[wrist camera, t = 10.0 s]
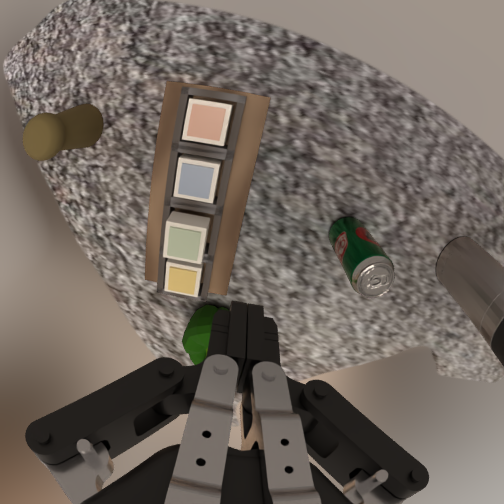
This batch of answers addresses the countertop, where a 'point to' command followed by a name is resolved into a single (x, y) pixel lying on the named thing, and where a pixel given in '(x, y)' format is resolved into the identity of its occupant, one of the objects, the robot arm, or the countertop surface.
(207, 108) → the key
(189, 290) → the key
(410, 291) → the countertop surface
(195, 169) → the key
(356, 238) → the soda can
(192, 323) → the bell pepper
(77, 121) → the cork
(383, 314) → the countertop surface
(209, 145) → the keypad
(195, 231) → the key
